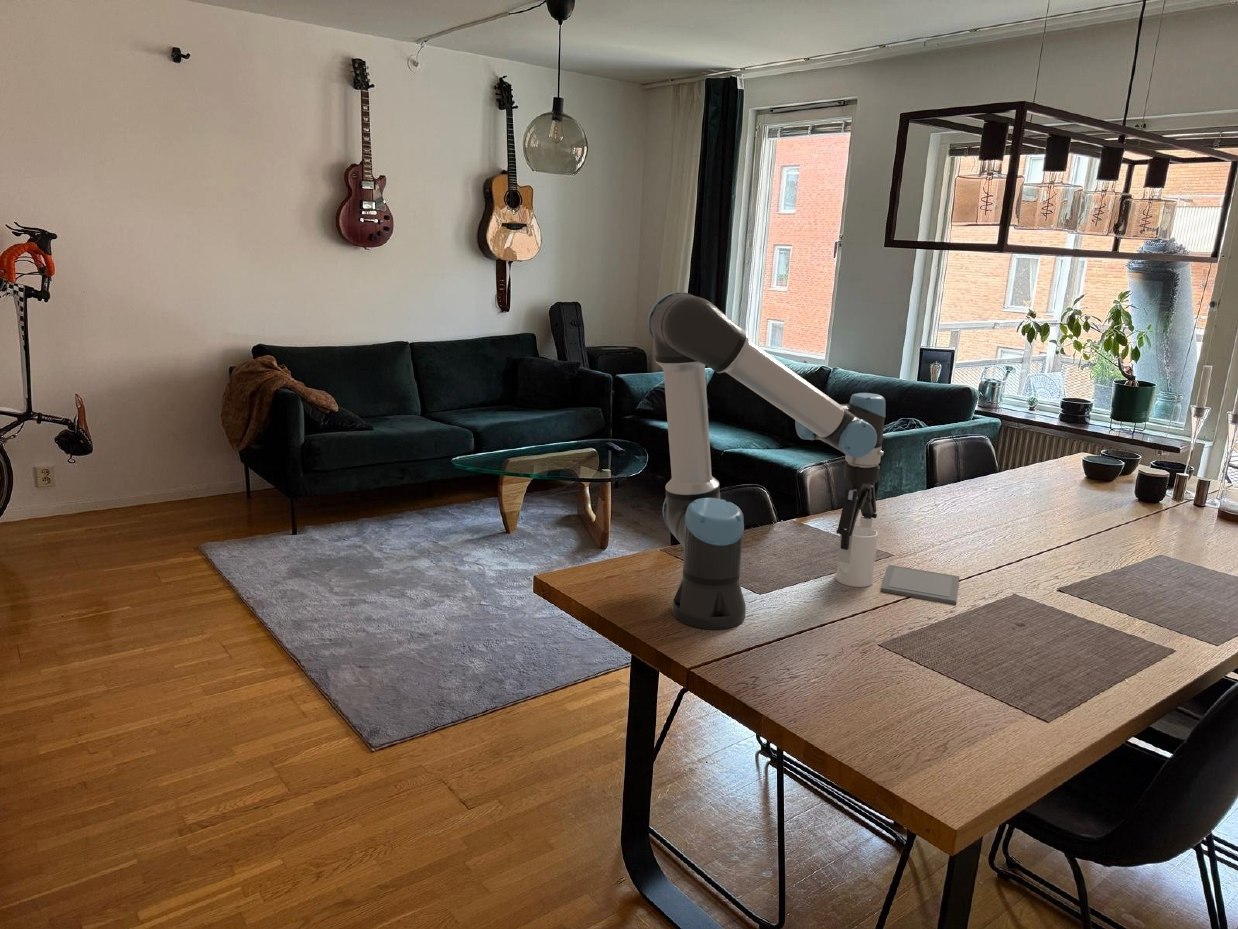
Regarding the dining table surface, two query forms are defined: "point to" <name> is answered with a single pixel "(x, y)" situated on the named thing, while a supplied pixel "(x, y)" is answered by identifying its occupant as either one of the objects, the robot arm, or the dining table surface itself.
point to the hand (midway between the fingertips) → (854, 553)
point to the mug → (859, 559)
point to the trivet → (921, 584)
